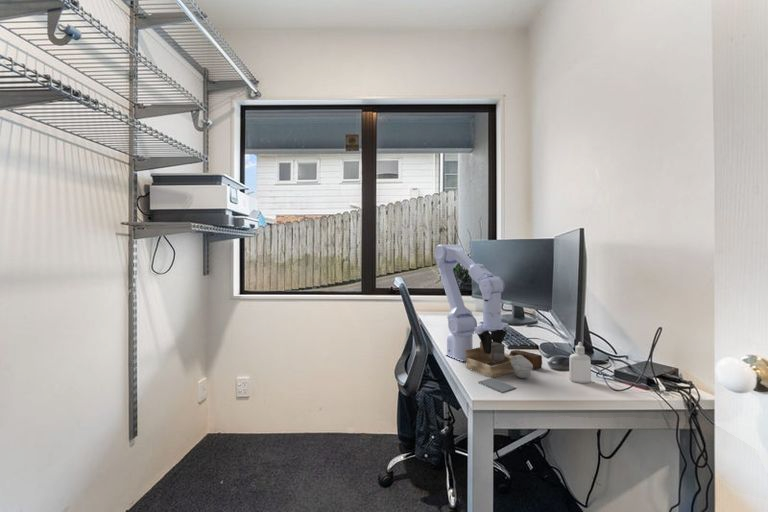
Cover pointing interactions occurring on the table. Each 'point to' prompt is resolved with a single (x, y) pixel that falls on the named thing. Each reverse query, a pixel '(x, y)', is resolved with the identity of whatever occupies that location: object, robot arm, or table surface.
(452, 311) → the robot arm
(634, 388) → the table surface
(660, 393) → the table surface
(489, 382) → the mat
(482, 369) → the carton
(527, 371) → the grey faceted rock
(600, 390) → the table surface
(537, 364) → the brick
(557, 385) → the table surface
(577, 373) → the eye dropper bottle
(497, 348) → the box
